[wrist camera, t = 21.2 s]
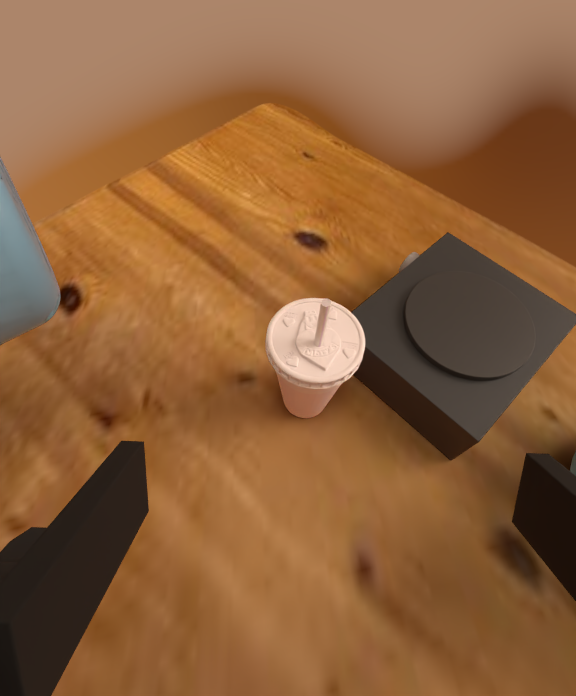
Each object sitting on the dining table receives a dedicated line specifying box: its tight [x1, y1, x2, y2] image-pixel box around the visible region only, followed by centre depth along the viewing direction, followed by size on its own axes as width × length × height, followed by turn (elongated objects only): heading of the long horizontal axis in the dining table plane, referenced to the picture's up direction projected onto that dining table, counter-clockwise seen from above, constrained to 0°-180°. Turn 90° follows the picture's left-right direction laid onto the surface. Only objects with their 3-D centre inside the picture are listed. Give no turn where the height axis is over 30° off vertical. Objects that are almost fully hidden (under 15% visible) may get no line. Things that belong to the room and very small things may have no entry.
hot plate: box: [351, 233, 576, 460], centre depth 33 cm, size 14×15×6 cm
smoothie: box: [266, 298, 365, 418], centre depth 27 cm, size 6×6×14 cm
